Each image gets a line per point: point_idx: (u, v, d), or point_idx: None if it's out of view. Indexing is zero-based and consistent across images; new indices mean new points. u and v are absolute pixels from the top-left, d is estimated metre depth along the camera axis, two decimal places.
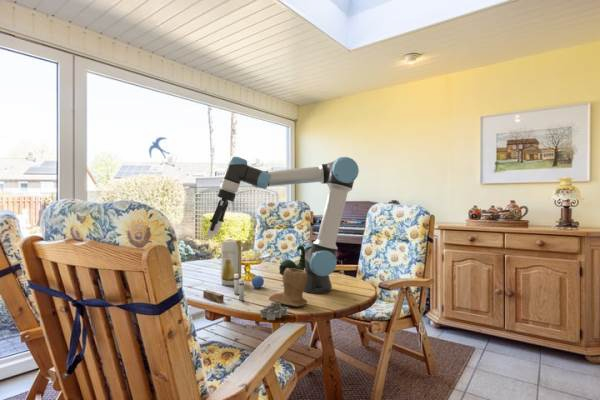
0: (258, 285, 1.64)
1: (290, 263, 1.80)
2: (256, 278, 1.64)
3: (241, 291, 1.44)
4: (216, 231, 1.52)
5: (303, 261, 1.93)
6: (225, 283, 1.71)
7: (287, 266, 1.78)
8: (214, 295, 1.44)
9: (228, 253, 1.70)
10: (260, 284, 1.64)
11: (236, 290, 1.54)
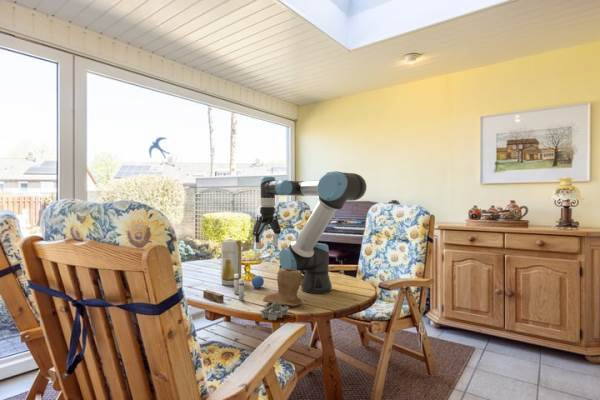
0: (258, 285, 1.64)
1: None
2: (256, 278, 1.64)
3: (241, 291, 1.44)
4: (275, 242, 1.77)
5: None
6: (225, 283, 1.71)
7: None
8: (214, 295, 1.44)
9: (228, 253, 1.70)
10: (260, 284, 1.64)
11: (236, 290, 1.54)
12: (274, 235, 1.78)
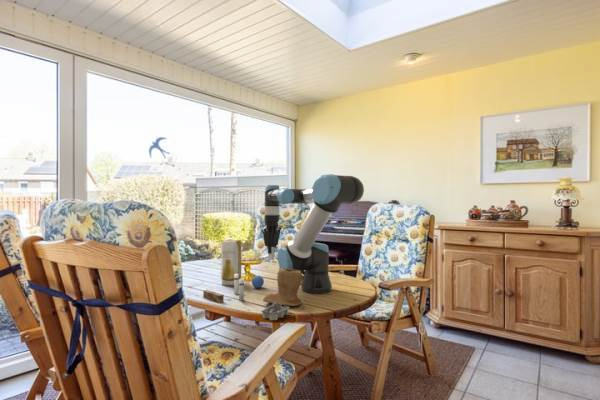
0: (258, 285, 1.64)
1: None
2: (256, 278, 1.64)
3: (241, 291, 1.44)
4: None
5: None
6: (225, 283, 1.71)
7: None
8: (214, 295, 1.44)
9: (228, 253, 1.70)
10: (260, 284, 1.64)
11: (236, 290, 1.54)
12: None
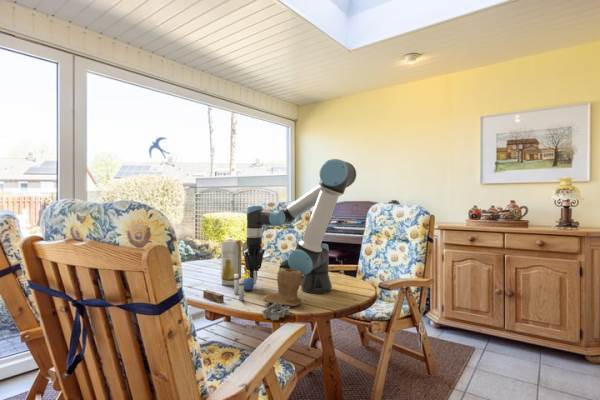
0: (252, 287, 1.61)
1: None
2: (246, 289, 1.59)
3: (241, 291, 1.44)
4: (254, 280, 1.64)
5: None
6: (225, 283, 1.71)
7: (287, 266, 1.78)
8: (214, 295, 1.44)
9: (228, 253, 1.70)
10: (252, 286, 1.60)
11: (236, 290, 1.54)
12: None
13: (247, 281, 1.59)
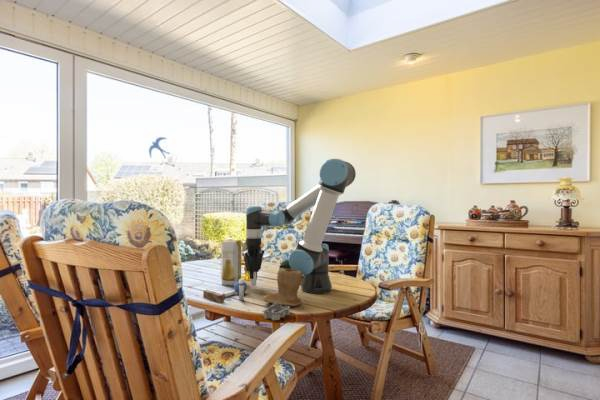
0: (246, 285, 1.56)
1: None
2: None
3: (241, 291, 1.44)
4: None
5: None
6: (225, 283, 1.71)
7: (287, 266, 1.78)
8: (214, 295, 1.44)
9: (228, 253, 1.70)
10: (246, 287, 1.55)
11: (232, 294, 1.52)
12: None
13: None
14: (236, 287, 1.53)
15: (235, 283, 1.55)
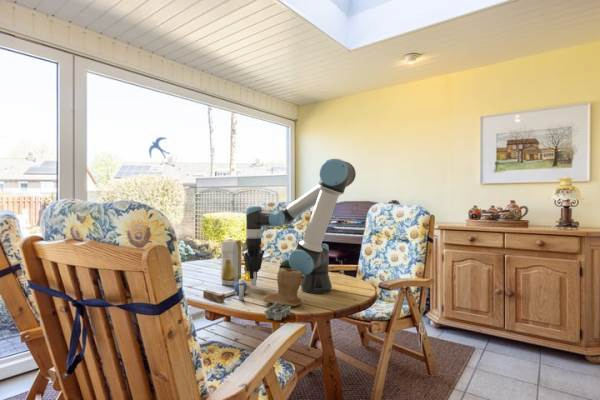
0: (246, 285, 1.56)
1: None
2: None
3: (241, 291, 1.44)
4: None
5: None
6: (225, 283, 1.71)
7: (287, 266, 1.78)
8: (214, 295, 1.44)
9: (228, 253, 1.70)
10: (246, 287, 1.55)
11: (232, 294, 1.52)
12: None
13: None
14: (236, 287, 1.53)
15: (235, 283, 1.55)
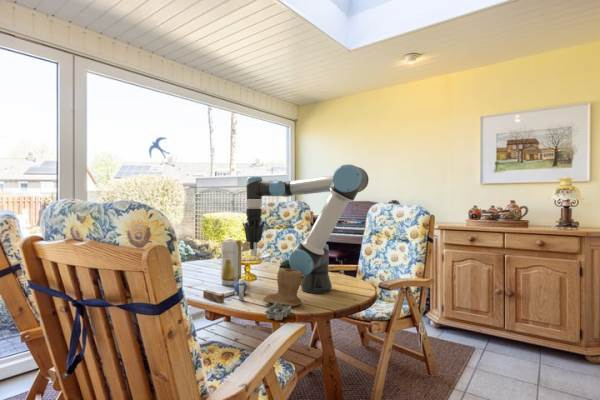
0: (246, 285, 1.56)
1: None
2: None
3: (241, 291, 1.44)
4: None
5: None
6: (225, 283, 1.71)
7: (287, 266, 1.78)
8: (214, 295, 1.44)
9: (228, 253, 1.70)
10: (246, 287, 1.55)
11: (232, 293, 1.53)
12: None
13: None
14: (236, 287, 1.53)
15: (235, 283, 1.55)
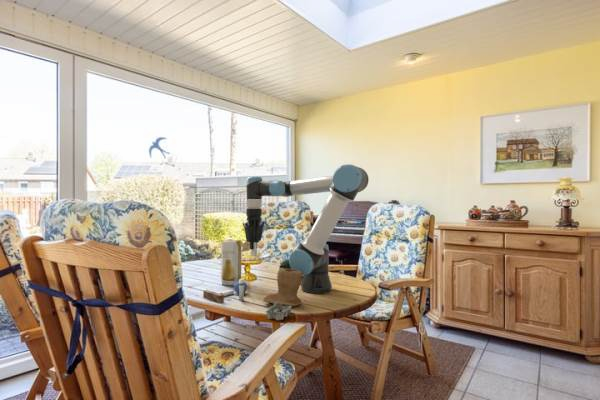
0: (246, 285, 1.56)
1: None
2: None
3: (241, 291, 1.44)
4: None
5: None
6: (225, 283, 1.71)
7: (287, 266, 1.78)
8: (214, 295, 1.44)
9: (228, 253, 1.70)
10: (246, 287, 1.55)
11: (230, 291, 1.53)
12: None
13: None
14: (236, 287, 1.53)
15: (235, 283, 1.55)
